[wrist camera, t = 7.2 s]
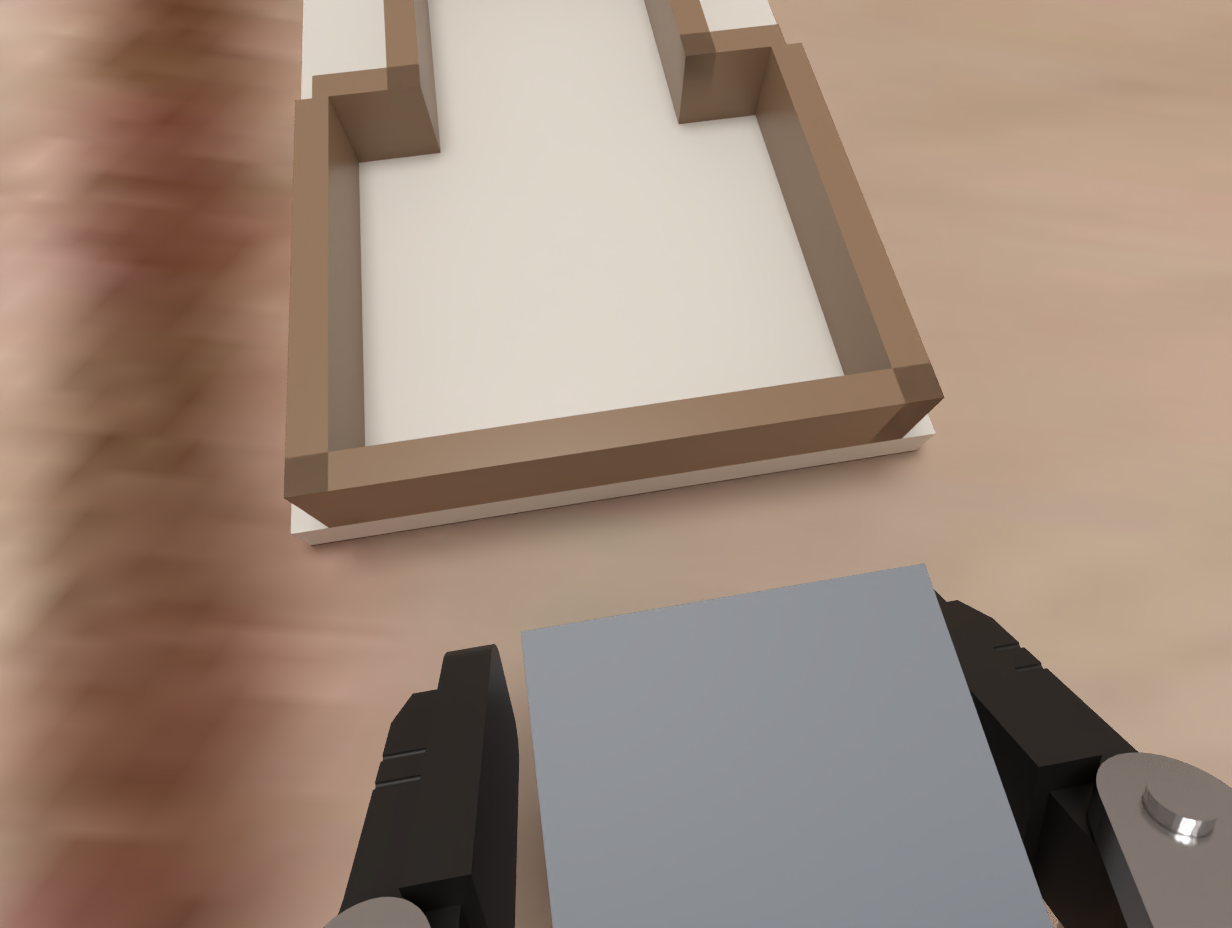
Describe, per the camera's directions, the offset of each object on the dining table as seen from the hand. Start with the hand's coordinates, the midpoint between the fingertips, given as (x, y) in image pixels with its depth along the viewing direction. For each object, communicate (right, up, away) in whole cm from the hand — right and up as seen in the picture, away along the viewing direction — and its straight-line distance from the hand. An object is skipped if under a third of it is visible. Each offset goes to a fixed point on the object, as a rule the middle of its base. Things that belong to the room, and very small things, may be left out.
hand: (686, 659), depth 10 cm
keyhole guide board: (-3, +13, +13) cm, 19 cm away
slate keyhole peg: (0, -4, +6) cm, 8 cm away
